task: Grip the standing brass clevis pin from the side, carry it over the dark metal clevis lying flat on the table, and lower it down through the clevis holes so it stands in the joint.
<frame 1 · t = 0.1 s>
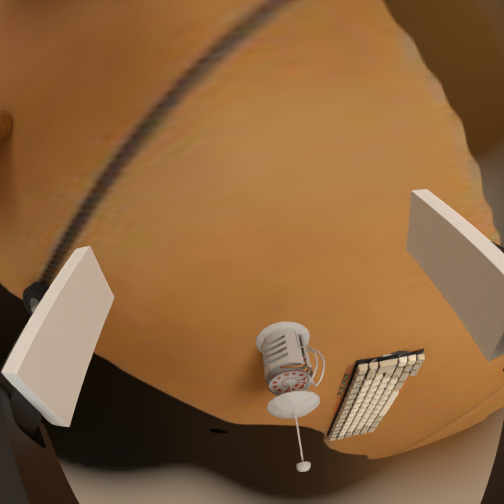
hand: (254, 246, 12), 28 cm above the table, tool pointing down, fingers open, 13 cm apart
french press: (286, 337, 55), on the table
mechanical keyboard: (368, 397, 70), on the table
caster wheel: (54, 301, 48), on the table
clevis pin: (4, 123, 31), on the table
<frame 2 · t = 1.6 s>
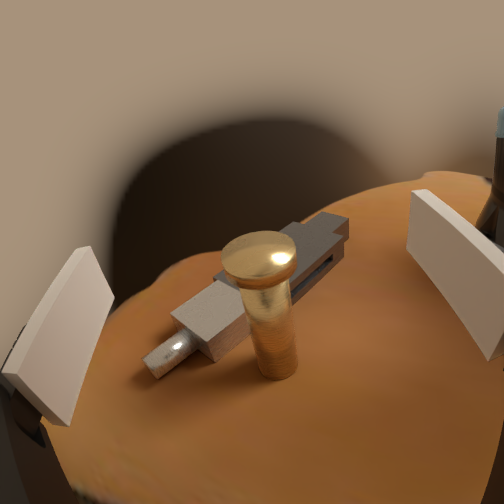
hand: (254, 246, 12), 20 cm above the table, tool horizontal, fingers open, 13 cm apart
clevis: (266, 291, 41), on the table
clevis pin: (278, 364, 31), on the table
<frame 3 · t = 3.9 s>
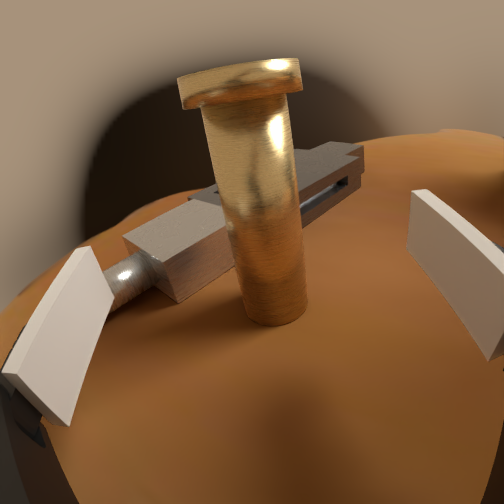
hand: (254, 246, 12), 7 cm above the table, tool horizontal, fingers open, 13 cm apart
clevis: (260, 220, 30), on the table
clevis pin: (276, 303, 20), on the table
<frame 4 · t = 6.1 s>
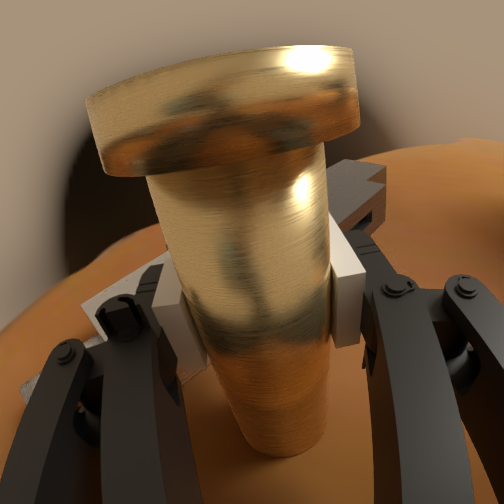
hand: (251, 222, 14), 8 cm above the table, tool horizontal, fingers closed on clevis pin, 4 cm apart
clevis: (261, 272, 23), on the table
clevis pin: (283, 419, 13), on the table, touching gripper
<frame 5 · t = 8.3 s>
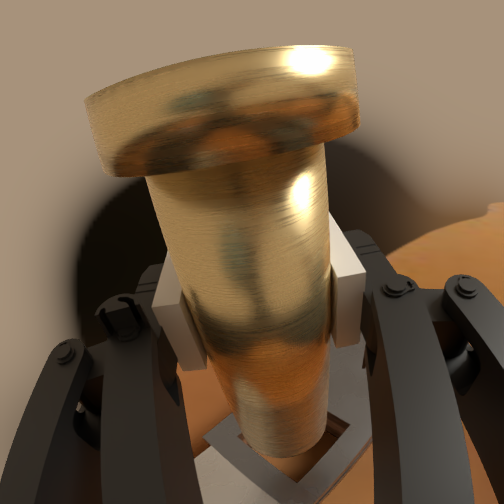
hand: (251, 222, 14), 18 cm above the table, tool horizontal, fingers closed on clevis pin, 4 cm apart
clevis: (295, 449, 20), on the table
clevis pin: (283, 420, 13), point 10 cm above the table, touching gripper
when the fingers open (9 cm above the table, at t = 10.4 s): clevis pin drops 1 cm, resting in clevis.
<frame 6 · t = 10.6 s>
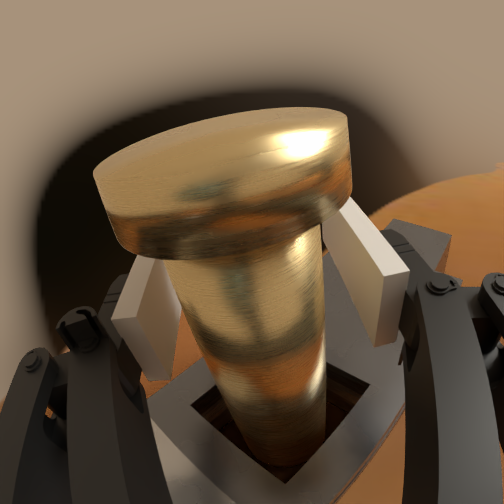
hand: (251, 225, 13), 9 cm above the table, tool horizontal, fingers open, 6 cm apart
clevis: (285, 431, 14), on the table
clevis pin: (285, 432, 14), resting in clevis
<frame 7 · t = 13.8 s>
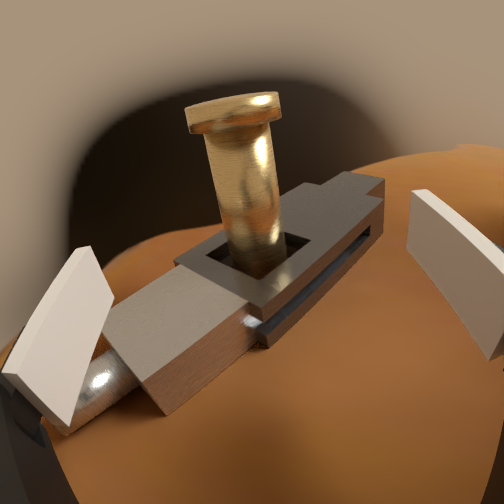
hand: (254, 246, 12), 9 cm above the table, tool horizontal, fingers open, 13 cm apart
clevis: (264, 285, 24), on the table
clevis pin: (264, 286, 24), resting in clevis
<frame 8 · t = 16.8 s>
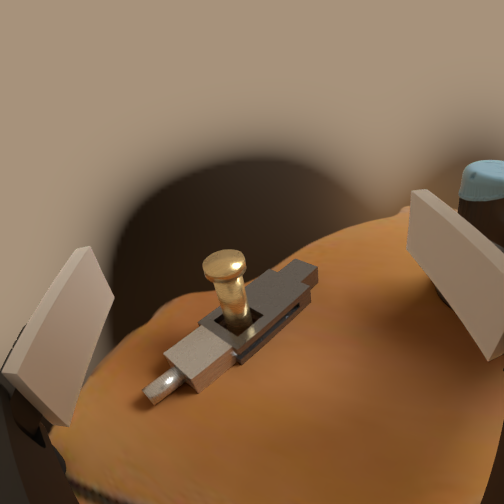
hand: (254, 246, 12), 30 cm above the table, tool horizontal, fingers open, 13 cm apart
clevis: (242, 333, 49), on the table
clevis pin: (242, 333, 49), resting in clevis
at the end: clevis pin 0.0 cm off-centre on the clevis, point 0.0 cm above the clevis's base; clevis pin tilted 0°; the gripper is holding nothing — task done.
